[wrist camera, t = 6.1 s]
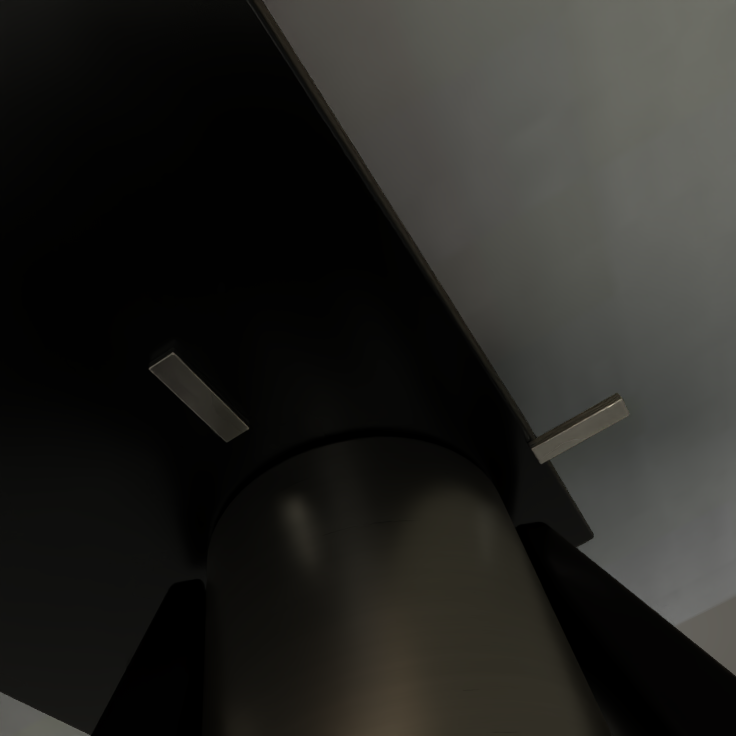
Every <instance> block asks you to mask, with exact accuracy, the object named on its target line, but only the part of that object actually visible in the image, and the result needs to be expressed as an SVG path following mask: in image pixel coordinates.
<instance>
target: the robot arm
mask: <svg viewBox="0 0 736 736" xmlns="http://www.w3.org/2000/svg"><path fill="white" fill-rule="evenodd" d="M515 529H516V531H517V533H518V535H519V537H520V540H521V542H522V544H523V546H524V548H525V550H526V552H527V555H528V557H529V559H530V561H531V563H532V565H533V567H534V569H535V572H536V574H537V576H538V578H539V580H540V582H541V584H542V587H543V589H544V591H545V593H546V595H547V597H548V599H549V602H550V604H551V606H552V608H553V610H554V612H555V614H556V616H557V619H558V621H559V623H560V625H561V627H562V629H563V631H564V634H565V636H566V638H567V640H568V642H569V644H570V646H571V648H572V651H573V653H574V655H575V657H576V659H577V661H578V663H579V666H580V668H581V670H582V672H583V674H584V676H585V678H586V681H587V683H588V685H589V687H590V689H591V691H592V693H593V695H594V698H595V700H596V702H597V704H598V706H599V708H600V710H601V713H602V715H603V717H604V719H605V721H606V723H607V725H608V728H609V730H610V732H611V734H612V736H736V676H735V675H734V674H733V673H731V672H730V671H729V670H727V669H726V668H725V667H724V666H722V665H721V664H720V663H719V662H718V661H716V660H715V659H714V658H713V657H711V656H710V655H709V654H708V653H706V652H705V651H704V650H703V649H702V648H700V647H699V646H698V645H697V644H695V643H694V642H693V641H692V640H690V639H689V638H688V637H687V636H685V635H684V634H683V633H682V632H680V631H679V630H678V629H677V628H675V627H674V626H673V625H672V624H670V623H669V622H668V621H667V620H666V619H664V618H663V617H662V616H661V615H659V614H658V613H657V612H656V611H654V610H653V609H652V608H651V607H649V606H648V605H647V604H646V603H644V602H643V601H642V600H641V599H639V598H638V597H637V596H636V595H634V594H633V593H632V592H631V591H629V590H628V589H627V588H626V587H624V586H623V585H622V584H621V583H620V582H618V581H617V580H616V579H615V578H613V577H612V576H611V575H610V574H608V573H607V572H606V571H605V570H603V569H602V568H601V567H600V566H598V565H597V564H596V563H595V562H593V561H592V560H591V559H590V558H588V557H587V556H586V555H585V554H583V553H582V552H581V551H580V550H579V549H577V548H576V547H575V546H574V545H572V544H571V543H570V542H569V541H567V540H566V539H565V538H564V537H562V536H561V535H560V534H559V533H557V532H556V531H555V530H554V529H552V528H551V527H550V526H549V525H547V524H546V523H544V522H532V523H526V524H520V525H518V526H517V527H516V528H515ZM205 616H206V589H205V585H204V583H203V581H202V580H200V579H193V580H187V581H181V582H176V583H174V584H173V585H171V587H170V588H169V590H168V591H167V593H166V595H165V597H164V599H163V601H162V603H161V605H160V606H159V608H158V610H157V612H156V614H155V616H154V618H153V620H152V621H151V623H150V625H149V627H148V629H147V631H146V633H145V635H144V637H143V638H142V640H141V642H140V644H139V646H138V648H137V650H136V652H135V653H134V655H133V657H132V659H131V661H130V663H129V665H128V667H127V668H126V670H125V672H124V674H123V676H122V678H121V680H120V682H119V684H118V685H117V687H116V689H115V691H114V693H113V695H112V697H111V699H110V700H109V702H108V704H107V706H106V708H105V710H104V712H103V714H102V716H101V717H100V719H99V721H98V723H97V725H96V727H95V729H94V731H93V732H92V734H91V736H202V717H203V683H204V650H205Z"/></svg>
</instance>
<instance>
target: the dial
mask: <svg viewBox="0 0 736 736" xmlns="http://www.w3.org/2000/svg"><path fill="white" fill-rule="evenodd" d="M202 736H612V734H611V732H610V730H609V728H608V725H607V723H606V721H605V719H604V717H603V715H602V713H601V710H600V708H599V706H598V704H597V702H596V700H595V698H594V695H593V693H592V691H591V689H590V687H589V685H588V683H587V681H586V678H585V676H584V674H583V672H582V670H581V668H580V666H579V663H578V661H577V659H576V657H575V655H574V653H573V651H572V648H571V646H570V644H569V642H568V640H567V638H566V636H565V634H564V631H563V629H562V627H561V625H560V623H559V621H558V619H557V616H556V614H555V612H554V610H553V608H552V606H551V604H550V602H549V599H548V597H547V595H546V593H545V591H544V589H543V587H542V584H541V582H540V580H539V578H538V576H537V574H536V572H535V569H534V567H533V565H532V563H531V561H530V559H529V557H528V555H527V552H526V550H525V548H524V546H523V544H522V542H521V540H520V537H519V535H518V533H517V531H516V529H515V527H514V525H513V522H512V520H511V518H510V516H509V514H508V512H507V510H506V508H505V505H504V503H503V501H502V499H501V497H500V495H499V493H498V491H497V489H496V488H495V486H494V484H493V483H492V481H491V480H490V479H489V478H488V477H487V476H486V475H485V473H484V472H483V471H482V470H481V469H479V468H478V467H477V466H476V465H474V464H473V463H472V462H471V461H469V460H468V459H466V458H465V457H463V456H461V455H459V454H457V453H456V452H454V451H452V450H450V449H447V448H445V447H442V446H440V445H437V444H434V443H430V442H426V441H422V440H418V439H411V438H404V437H391V436H372V437H360V438H352V439H346V440H341V441H336V442H331V443H328V444H324V445H321V446H317V447H314V448H311V449H308V450H306V451H303V452H301V453H299V454H296V455H294V456H291V457H289V458H287V459H286V460H284V461H282V462H280V463H278V464H276V465H274V466H273V467H271V468H270V469H268V470H267V471H265V472H264V473H262V474H261V475H259V476H258V477H256V478H255V479H254V480H253V481H252V482H251V483H249V484H248V485H247V486H246V487H245V488H244V489H242V490H241V492H240V493H239V494H238V495H237V496H236V497H235V498H234V499H233V501H232V502H231V503H230V504H229V505H228V507H227V508H226V510H225V512H224V513H223V515H222V516H221V518H220V519H219V521H218V523H217V525H216V527H215V529H214V532H213V534H212V536H211V540H210V544H209V548H208V556H207V582H206V616H205V650H204V683H203V717H202Z"/></svg>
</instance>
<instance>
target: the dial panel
mask: <svg viewBox="0 0 736 736" xmlns="http://www.w3.org/2000/svg"><path fill="white" fill-rule="evenodd" d="M629 415H630V413H629V411H628V408H627V406H626V404H625V402H624V400H623V398H622V397H621V396H620V395H619V393H615V394H614V395H612V396H610V397H608V398H607V399H605V400H603V401H601V402H599V403H598V404H596V405H594V406H592V407H591V408H589V409H587V410H585V411H583V412H582V413H580V414H578V415H576V416H575V417H573V418H571V419H569V420H567V421H566V422H564V423H562V424H560V425H559V426H557V427H555V428H553V429H552V430H550V431H548V432H546V433H544V434H543V435H541V436H539V437H536V436H535V434H534V432H533V431H532V429H531V427H530V425H529V424H528V422H527V421H526V419H525V417H524V416H523V414H522V413H521V411H520V409H519V408H518V406H517V405H516V403H515V401H514V400H513V398H512V397H511V395H510V394H509V392H508V390H507V389H506V387H505V386H504V384H503V382H502V381H501V379H500V378H499V376H498V374H497V373H496V371H495V370H494V368H493V366H492V365H491V363H490V362H489V360H488V359H487V357H486V355H485V354H484V352H483V351H482V349H481V347H480V346H479V344H478V343H477V341H476V339H475V338H474V336H473V335H472V333H471V332H470V330H469V328H468V327H467V325H466V324H465V322H464V320H463V319H462V317H461V316H460V314H459V312H458V311H457V309H456V308H455V306H454V304H453V303H452V301H451V300H450V298H449V297H448V295H447V293H446V292H445V290H444V289H443V287H442V285H441V284H440V282H439V281H438V279H437V277H436V276H435V274H434V273H433V271H432V270H431V268H430V266H429V265H428V263H427V262H426V260H425V258H424V257H423V255H422V254H421V252H420V250H419V249H418V247H417V246H416V244H415V242H414V241H413V239H412V238H411V236H410V235H409V233H408V231H407V230H406V228H405V227H404V225H403V223H402V222H401V220H400V219H399V217H398V215H397V214H396V212H395V211H394V209H393V208H392V206H391V204H390V203H389V201H388V200H387V198H386V196H385V195H384V193H383V192H382V190H381V188H380V187H379V185H378V184H377V182H376V181H375V179H374V177H373V176H372V174H371V173H370V171H369V169H368V168H367V166H366V165H365V163H364V161H363V160H362V158H361V157H360V155H359V153H358V152H357V150H356V149H355V147H354V146H353V144H352V142H351V141H350V139H349V138H348V136H347V134H346V133H345V131H344V130H343V128H342V126H341V125H340V123H339V122H338V120H337V119H336V117H335V115H334V114H333V112H332V111H331V109H330V107H329V106H328V104H327V103H326V101H325V99H324V98H323V96H322V95H321V93H320V91H319V90H318V88H317V87H316V85H315V84H314V82H313V80H312V79H311V77H310V76H309V74H308V72H307V71H306V69H305V68H304V66H303V64H302V63H301V61H300V60H299V58H298V57H297V55H296V53H295V52H294V50H293V49H292V47H291V45H290V44H289V42H288V41H287V39H286V37H285V36H284V34H283V33H282V31H281V29H280V28H279V26H278V25H277V23H276V22H275V20H274V18H273V17H272V15H271V14H270V12H269V10H268V9H267V7H266V6H265V4H264V2H263V1H262V0H0V692H2V693H4V694H6V695H8V696H10V697H12V698H14V699H16V700H18V701H20V702H22V703H25V704H27V705H29V706H31V707H33V708H35V709H37V710H39V711H41V712H43V713H45V714H47V715H50V716H52V717H54V718H56V719H58V720H60V721H62V722H64V723H66V724H68V725H70V726H72V727H74V728H77V729H79V730H81V731H83V732H85V733H87V734H89V735H91V734H92V732H93V731H94V729H95V727H96V725H97V723H98V721H99V719H100V717H101V716H102V714H103V712H104V710H105V708H106V706H107V704H108V702H109V700H110V699H111V697H112V695H113V693H114V691H115V689H116V687H117V685H118V684H119V682H120V680H121V678H122V676H123V674H124V672H125V670H126V668H127V667H128V665H129V663H130V661H131V659H132V657H133V655H134V653H135V652H136V650H137V648H138V646H139V644H140V642H141V640H142V638H143V637H144V635H145V633H146V631H147V629H148V627H149V625H150V623H151V621H152V620H153V618H154V616H155V614H156V612H157V610H158V608H159V606H160V605H161V603H162V601H163V599H164V597H165V595H166V593H167V591H168V590H169V588H170V587H171V585H173V584H174V583H176V582H181V581H187V580H193V579H200V580H202V581H203V583H204V585H205V589H206V582H207V556H208V548H209V544H210V540H211V536H212V534H213V532H214V529H215V527H216V525H217V523H218V521H219V519H220V518H221V516H222V515H223V513H224V512H225V510H226V508H227V507H228V505H229V504H230V503H231V502H232V501H233V499H234V498H235V497H236V496H237V495H238V494H239V493H240V492H241V490H242V489H244V488H245V487H246V486H247V485H248V484H249V483H251V482H252V481H253V480H254V479H255V478H256V477H258V476H259V475H261V474H262V473H264V472H265V471H267V470H268V469H270V468H271V467H273V466H274V465H276V464H278V463H280V462H282V461H284V460H286V459H287V458H289V457H291V456H294V455H296V454H299V453H301V452H303V451H306V450H308V449H311V448H314V447H317V446H321V445H324V444H328V443H331V442H336V441H341V440H346V439H352V438H360V437H372V436H391V437H404V438H411V439H418V440H422V441H426V442H430V443H434V444H437V445H440V446H442V447H445V448H447V449H450V450H452V451H454V452H456V453H457V454H459V455H461V456H463V457H465V458H466V459H468V460H469V461H471V462H472V463H473V464H474V465H476V466H477V467H478V468H479V469H481V470H482V471H483V472H484V473H485V475H486V476H487V477H488V478H489V479H490V480H491V481H492V483H493V484H494V486H495V488H496V489H497V491H498V493H499V495H500V497H501V499H502V501H503V503H504V505H505V508H506V510H507V512H508V514H509V516H510V518H511V520H512V522H513V525H514V527H515V528H516V527H517V526H518V525H520V524H526V523H532V522H544V523H546V524H547V525H549V526H550V527H551V528H552V529H554V530H555V531H556V532H557V533H559V534H560V535H561V536H562V537H564V538H565V539H566V540H567V541H569V542H570V543H571V544H572V545H574V546H575V547H578V546H580V545H582V544H584V543H586V542H587V541H589V540H591V539H593V538H594V534H593V532H592V531H591V529H590V527H589V525H588V524H587V522H586V520H585V519H584V517H583V515H582V514H581V512H580V510H579V509H578V507H577V505H576V503H575V502H574V500H573V498H572V497H571V495H570V493H569V492H568V490H567V488H566V486H565V485H564V483H563V481H562V480H561V478H560V476H559V475H558V473H557V471H556V470H555V468H554V466H553V464H552V463H551V461H550V459H552V458H554V457H555V456H557V455H559V454H561V453H563V452H564V451H566V450H568V449H570V448H572V447H573V446H575V445H577V444H579V443H581V442H582V441H584V440H586V439H588V438H590V437H591V436H593V435H595V434H597V433H599V432H600V431H602V430H604V429H606V428H608V427H609V426H611V425H613V424H615V423H617V422H618V421H620V420H622V419H624V418H626V417H627V416H629Z"/></svg>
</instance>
